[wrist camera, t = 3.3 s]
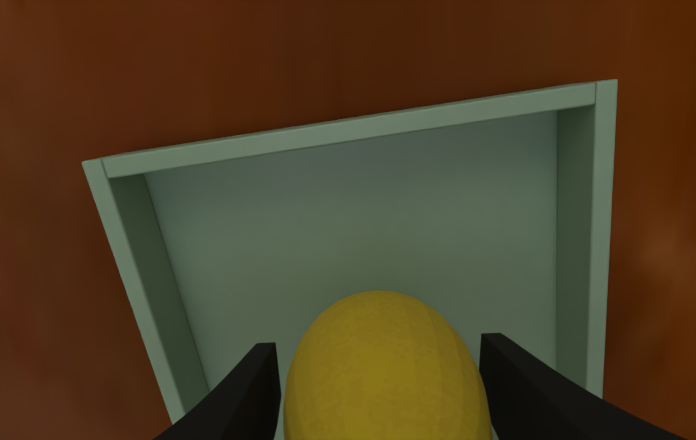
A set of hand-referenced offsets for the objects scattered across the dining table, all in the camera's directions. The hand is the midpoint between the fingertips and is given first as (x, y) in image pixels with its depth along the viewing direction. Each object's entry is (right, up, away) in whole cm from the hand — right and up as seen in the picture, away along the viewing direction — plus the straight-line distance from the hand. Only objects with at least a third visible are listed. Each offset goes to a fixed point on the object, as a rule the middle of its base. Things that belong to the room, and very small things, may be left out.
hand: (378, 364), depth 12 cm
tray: (0, +1, +3) cm, 3 cm away
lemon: (0, +1, +3) cm, 3 cm away
